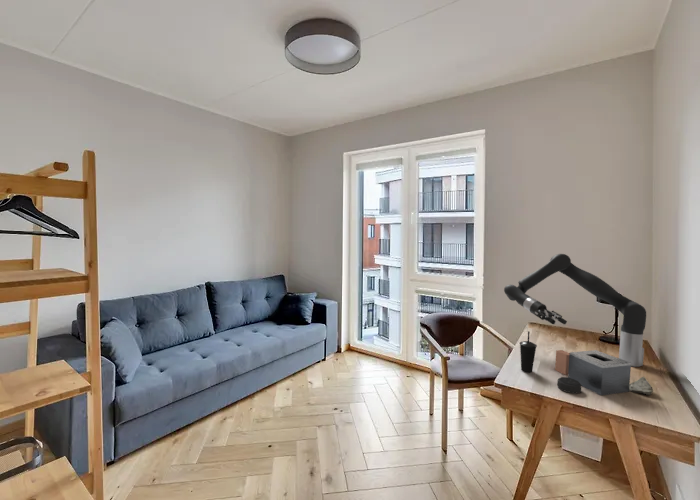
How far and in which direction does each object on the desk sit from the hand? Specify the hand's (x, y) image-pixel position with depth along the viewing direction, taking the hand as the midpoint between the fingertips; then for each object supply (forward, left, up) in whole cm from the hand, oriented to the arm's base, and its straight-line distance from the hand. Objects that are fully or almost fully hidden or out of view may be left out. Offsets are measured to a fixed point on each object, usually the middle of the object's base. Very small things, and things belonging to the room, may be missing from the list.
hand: (560, 322), depth 171 cm
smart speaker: (+10, +25, -24) cm, 36 cm away
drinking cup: (+19, +6, -24) cm, 31 cm away
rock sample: (-21, +25, -24) cm, 40 cm away
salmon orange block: (+1, +6, -23) cm, 24 cm away
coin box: (-6, +20, -23) cm, 31 cm away
